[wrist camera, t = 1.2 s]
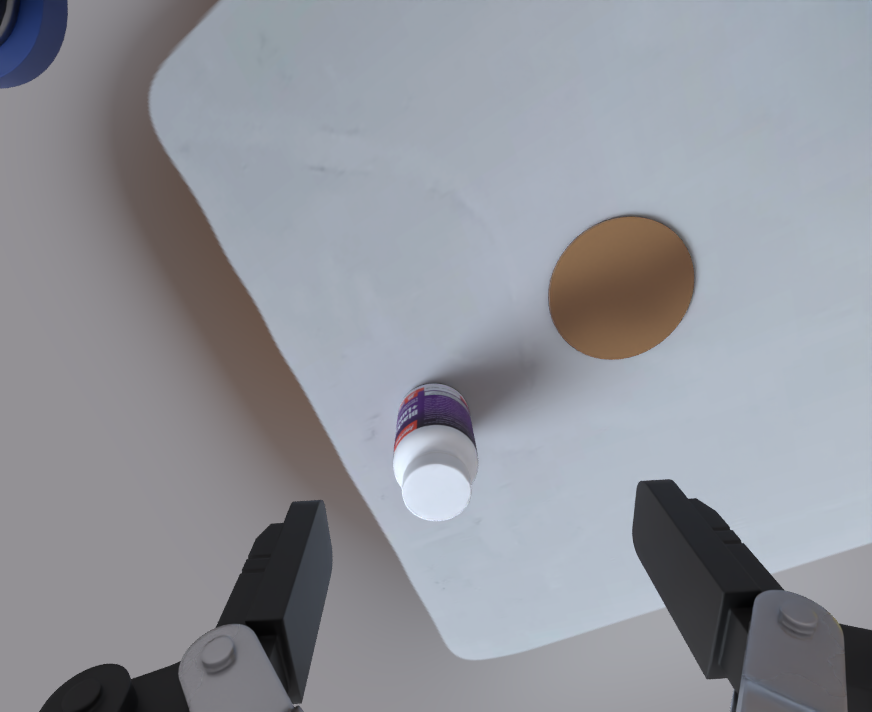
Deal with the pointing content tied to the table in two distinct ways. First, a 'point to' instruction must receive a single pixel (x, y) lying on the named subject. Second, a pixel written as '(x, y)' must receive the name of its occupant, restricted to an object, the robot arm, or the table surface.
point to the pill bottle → (435, 452)
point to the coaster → (621, 287)
